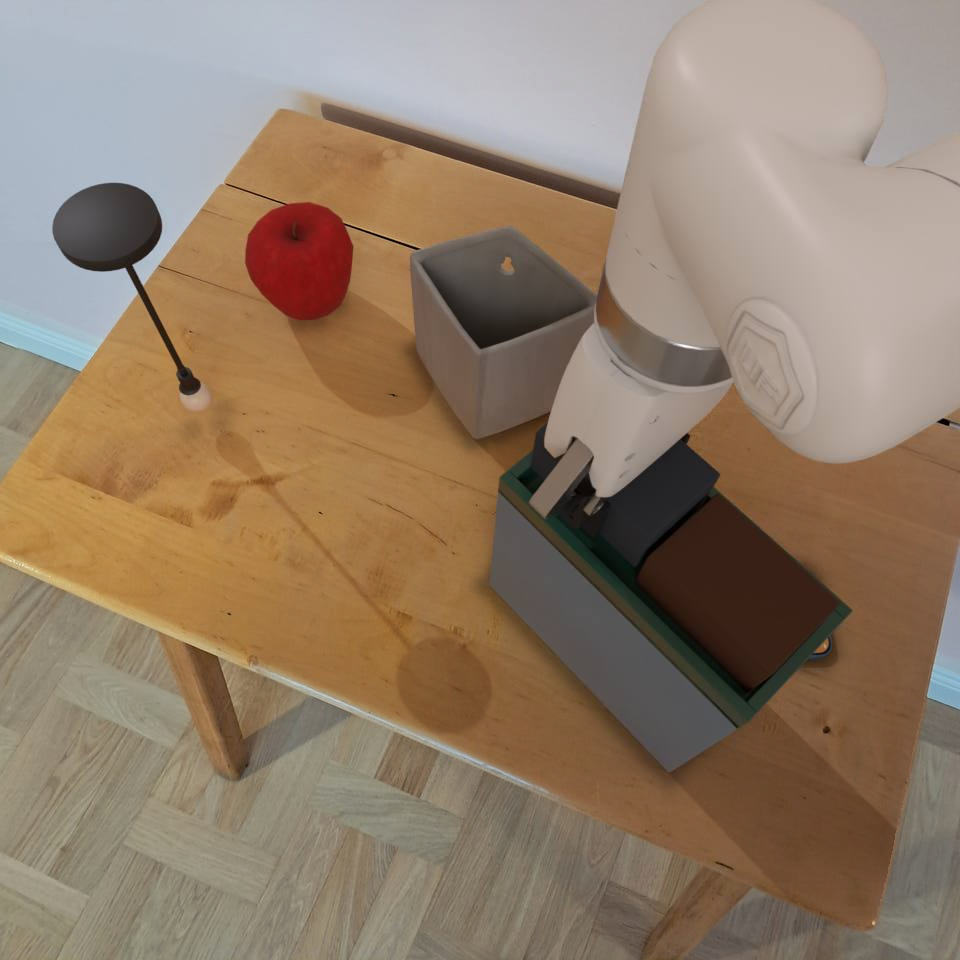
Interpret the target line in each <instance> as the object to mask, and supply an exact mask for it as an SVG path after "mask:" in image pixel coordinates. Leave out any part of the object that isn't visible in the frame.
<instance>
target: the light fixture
mask: <svg viewBox="0 0 960 960" xmlns="http://www.w3.org/2000/svg"><path fill="white" fill-rule="evenodd" d="M51 229H52V230H51V231H52V236H53V239H54V241H55V243H56V245H57V247H58V249H59V250H60V252H61V253H62V255H63V256H64V257H65V259H66V260H67V261H69V262H70V263H71V264H72V265H75V266H76V267H79V268H81V269H83V270H86V271H91V272H100V273H103V272H114V271H119V270H123V269H125V271H126V273H127V274H128V276H129V278H130V280H131V282H132V284H133V287H134V288H135V289H136V290H135V291H137V293H138V295H139V297H140V299H141V301H142V303H143V305H144V306H145V309H146V311H147V312H148V314H149V317H150V318H151V320H152V322H153V324H154V326H155V328H156V330H157V333H158V334H159V335H160V337H161V340H162V341H163V343H164V345H165V347H166V349H167V351H168V353H169V355H170V357H171V358H172V360H173V362H174V364H175V366H176V373H175V376H176V378H177V380H178V381H179V384H178V391H179V395H178V396H179V397H178V398H179V400H180V403H181V406H182V407H184V408H185V409H186V410H187V411H189V412H192V413H199V412H203V411H205V410H206V409H208V408H209V406H210V405H211V403H212V401H213V400H212V399H213V394H212V390H211V389H210V387H209V386H208V385H207V384H206V383H203V382H202V381H201V380H200V379H198V378H197V377H195V376H194V374H193V371H192V369H191V368H189V367H187V366H185V365H184V364H183V362H182V360H181V358H180V356H179V354H178V352H177V350H176V348H175V346H174V344H173V342H172V340H171V338H170V336H169V333H168V332H167V330H166V328H165V326H164V325H163V323H162V321H161V318H160V316H159V315H158V313H157V311H156V309H155V306H154V304H153V303H152V301H151V299H150V296H149V294H148V293H147V291H146V289H145V287H144V285H143V283H142V281H141V279H140V277H139V276H138V275H139V274H138V273H137V271H136V269H135V267H134V266H133V265H135V264H137V263H139V262H140V261H142V260H143V259H145V258H146V257H147V256H148V255H150V254H151V252H152V251H154V249H155V247H156V246H157V245H158V243H159V242H160V240H161V237H162V233H163V219H162V216H161V214H160V211H159V209H158V206H157V204H156V203H155V201H154V199H153V198H152V197H151V195H150V194H149V193H148V192H146V191H144V189H142V188H140V187H138V186H135V185H132V184H129V183H123V182H104V183H98V184H94V185H91V186H88V187H86V188H83V189H81V190H79V191H77V192H76V193H74V194H72V195H71V196H69V197H68V198H67V200H65V201H64V202H63V203H62V204H61V205H60V207H59V208H58V210H57V211H56V213H55V215H54V217H53V221H52V227H51Z"/></svg>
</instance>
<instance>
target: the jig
mask: <svg viewBox="0 0 960 960" xmlns="http://www.w3.org/2000/svg"><path fill="white" fill-rule="evenodd" d="M532 453H533V449H532V450H530V451H529V452H527V454H526V455H524V456H523V457H522V458H520V460H518V461H517V462H516V463H515V464H514V465H512V466H511V467H510V468H509V469H508V470H506V471H505V472H504V473H503V474H501V475H500V476H499V477H498V487H497V493H498V492H499V493H500V494H501V495H502V496H503V497H504V498H505V499H506V500H507V501H508V502H509V503H510V504H511V505H512V506H513V507H514V508H515V509H516V510H517V511H518V512H519V513H520V514H521V515H522V516H523V517H524V518H525V519H526V520H527V521H528V522H529V523H530V524H531V525H532V526H533V527H534V528H535V529H536V530H537V531H538V532H539V533H540V534H541V535H542V536H543V537H544V538H545V539H546V540H547V541H548V542H549V543H550V544H551V545H552V546H553V547H554V548H555V549H556V550H557V551H558V552H559V553H560V554H561V555H562V556H563V557H564V558H565V559H566V560H567V561H568V562H569V563H570V564H571V565H572V566H573V567H574V568H575V569H576V570H577V571H578V572H579V573H580V574H581V575H583V576H584V577H585V578H586V579H587V580H588V581H589V582H590V583H591V584H592V585H593V586H594V587H595V588H596V589H597V590H598V591H599V592H600V593H601V594H602V595H603V596H604V597H605V598H606V599H607V600H608V601H609V602H610V603H611V604H612V605H613V606H614V607H615V608H616V609H617V610H618V611H619V612H620V613H621V614H622V615H623V616H624V617H625V618H626V619H627V620H628V621H629V622H630V623H631V624H632V625H633V626H634V627H635V628H636V629H637V630H638V631H639V632H640V633H641V634H642V635H643V636H644V637H645V638H646V639H647V640H648V641H649V642H650V643H651V644H652V645H653V646H654V647H655V648H656V649H657V650H658V651H659V652H660V653H661V654H662V655H663V656H664V657H665V658H666V659H667V660H668V661H669V662H670V663H671V664H672V665H673V666H674V667H675V668H676V669H677V670H678V671H679V672H680V673H681V674H682V675H683V676H684V677H685V678H686V679H687V680H688V681H689V682H690V683H691V684H692V685H693V686H694V687H695V688H696V689H697V690H698V691H699V692H700V693H701V694H702V695H703V696H704V697H705V698H706V699H707V700H708V701H709V702H711V703H712V704H713V705H714V706H715V707H716V708H717V709H718V710H719V711H720V712H721V713H722V714H723V715H724V716H725V717H726V718H727V719H728V720H729V721H730V722H731V723H732V724H733V725H734V726H735V727H736V728H737V730H739V729H740V728H742V727H743V726H744V725H747V724H748V723H749V722H751V720H753V718H754V717H755V716H756V715H757V714H758V713H759V712H760V711H761V710H762V708H763V707H765V705H767V703H769V701H770V700H771V699H772V698H773V697H774V696H775V695H776V694H777V693H778V692H779V690H780V689H781V688H782V687H783V686H784V685H785V684H787V682H788V681H789V680H790V679H791V678H792V677H793V676H794V675H795V674H796V673H797V672H798V670H799V669H801V667H802V666H803V665H805V663H806V662H807V661H808V660H809V659H808V658H809V657H810V656H811V655H812V654H813V653H814V652H815V651H816V650H817V649H818V648H819V647H820V646H821V645H822V644H823V642H824V641H825V640H826V639H827V638H828V637H829V636H831V635H833V633H834V632H835V631H836V630H837V629H838V628H839V627H840V626H841V625H842V624H843V622H844V621H845V620H846V619H847V618H848V617H849V616H850V615H851V614H852V613H853V609H852V608H851V607H850V606H849V605H848V604H847V603H845V602H844V601H843V600H842V599H841V598H840V597H838V596H837V594H835V593H834V592H833V591H832V590H831V589H830V588H829V587H827V586H826V585H825V584H824V583H823V582H822V581H821V580H819V579H818V578H817V576H816V575H814V573H812V572H811V571H809V569H807V568H806V567H805V566H804V565H803V564H801V563H800V562H799V561H798V560H797V559H796V558H795V557H793V556H792V554H790V553H789V552H788V551H787V550H786V549H784V547H782V546H781V545H780V544H779V543H778V542H777V541H776V540H774V538H773V537H772V536H770V535H769V534H768V533H767V532H765V530H764V529H762V528H761V527H760V526H758V524H757V523H756V522H754V521H753V520H752V519H751V518H750V517H749V516H747V515H746V514H745V513H744V512H743V511H742V510H741V509H739V508H738V506H736V505H735V504H734V503H733V502H732V501H730V500H729V499H728V498H727V497H726V496H725V495H724V494H723V493H722V492H721V491H719V490H718V489H717V488H716V487H715V486H714V487H713V488H712V490H711V491H710V493H709V495H708V496H707V498H706V500H705V501H704V503H703V504H702V506H701V507H703V506H704V505H705V504H706V503H707V502H708V501H709V500H710V499H711V498H712V497H714V496H715V495H716V494H717V493H719V494H720V495H721V496H722V497H723V498H724V499H725V500H727V501H728V502H729V503H730V504H731V505H732V506H733V507H734V508H736V509H737V510H738V511H739V512H740V513H741V514H742V515H743V516H744V517H746V518H747V519H748V520H749V521H750V522H751V523H752V524H753V525H754V526H756V527H757V528H758V529H759V530H760V531H761V532H762V533H763V534H765V535H766V536H767V537H768V538H769V539H770V540H771V541H772V542H773V543H775V544H776V545H777V546H778V547H779V548H780V549H781V550H782V551H783V552H785V553H786V554H787V555H788V556H789V557H790V558H791V559H792V560H793V561H795V562H796V563H797V564H798V565H799V566H800V567H801V568H802V569H804V570H805V571H806V572H807V573H808V574H809V575H810V576H811V577H812V578H814V579H815V580H816V581H817V582H818V583H819V584H820V585H821V586H822V587H824V588H825V589H826V590H827V591H828V592H829V593H830V594H831V595H833V596H834V597H835V598H836V599H837V600H838V601H839V602H840V605H839V606H838V607H837V608H836V609H835V610H834V611H833V612H832V613H831V614H830V615H829V616H828V617H827V618H826V619H825V620H824V621H823V622H822V623H821V624H820V626H819V627H818V628H817V629H816V630H815V631H814V632H813V633H812V634H811V635H810V636H809V637H808V638H807V639H806V640H805V641H804V642H803V643H802V644H801V645H800V646H799V647H798V648H797V649H796V650H795V652H794V653H793V654H792V655H791V656H790V657H789V658H788V659H787V660H786V661H785V662H784V663H783V664H782V665H781V666H780V667H779V668H778V669H777V670H776V671H775V672H774V673H773V674H772V675H771V676H770V677H768V678H767V679H766V680H764V681H763V682H761V683H760V684H759V685H757V686H756V687H755V688H753V689H752V690H751V691H749V692H748V693H747V692H745V691H744V690H743V689H742V688H741V687H740V686H739V685H738V684H737V683H736V682H735V681H734V680H733V679H732V678H731V677H730V676H729V675H728V674H727V673H726V672H725V671H724V670H723V669H722V668H721V667H720V666H719V665H718V664H717V663H716V662H715V661H714V660H713V659H712V658H711V657H710V656H709V655H708V654H707V653H706V652H705V651H704V650H703V649H701V648H700V647H699V646H698V645H697V644H696V643H695V642H694V641H693V640H692V639H691V638H690V637H689V636H688V635H687V634H686V633H685V632H684V631H683V630H682V629H681V628H680V627H679V626H678V625H677V624H676V623H675V622H674V621H673V620H672V619H671V618H670V617H669V616H668V615H667V614H666V613H665V612H664V611H663V610H662V609H661V608H660V607H659V606H658V605H657V604H656V603H654V602H653V601H652V600H651V599H650V598H649V597H648V596H647V595H646V594H645V593H644V592H643V591H642V590H641V589H640V588H639V587H638V586H637V585H636V584H635V580H636V578H637V576H638V574H639V573H640V571H641V569H642V567H643V565H644V563H645V562H646V560H647V558H648V556H649V555H650V554H651V553H650V554H649V555H648V556H647V557H646V558H645V559H644V560H643V561H642V562H641V563H640V564H638V565H637V566H636V567H634V566H633V565H631V564H630V563H629V562H628V561H627V560H626V559H625V558H624V557H623V556H622V555H621V554H620V553H619V552H618V551H617V550H616V549H615V548H614V547H613V546H612V545H611V544H610V543H609V542H608V541H607V540H606V539H605V538H603V537H602V536H601V535H600V534H599V533H598V534H597V535H596V536H595V537H592V536H590V535H589V534H588V533H587V532H586V531H585V530H584V529H583V528H582V527H580V528H579V529H576V528H574V527H572V526H571V525H570V524H569V523H568V522H567V521H566V520H565V519H564V518H563V516H562V515H561V513H560V514H559V515H557V516H554V517H551V518H548V519H544V518H543V517H542V516H541V515H540V514H539V513H538V512H537V511H536V510H535V509H534V508H533V507H532V506H531V505H530V504H529V501H530V499H531V498H532V496H533V495H534V494H535V492H536V491H537V490H538V489H539V487H540V486H541V485H542V483H543V482H544V480H543V479H542V478H541V477H540V476H539V475H538V474H537V473H536V472H535V471H534V470H533V469H532V468H531V467H530V465H531V459H532ZM699 509H700V508H699ZM699 509H698V510H699ZM698 510H697V511H698ZM697 511H696V512H697ZM696 512H695V513H696ZM695 513H694V514H695ZM694 514H693V515H694ZM693 515H692V516H693ZM692 516H691V517H692ZM687 520H688V519H687ZM687 520H686V521H687ZM686 521H685V522H686ZM685 522H684V523H685ZM684 523H683V524H684ZM683 524H682V525H683ZM682 525H681V526H682ZM681 526H680V527H681ZM675 531H676V530H675ZM675 531H674V532H675ZM674 532H673V533H674ZM673 533H672V534H673ZM672 534H671V535H672ZM671 535H670V536H671ZM670 536H669V537H670ZM662 543H663V542H662ZM662 543H661V544H662ZM661 544H660V545H661ZM660 545H659V546H660ZM659 546H658V547H659ZM810 572H811V573H812V574H811V573H810Z"/></svg>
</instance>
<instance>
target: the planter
mask: <svg viewBox="0 0 960 960" xmlns="http://www.w3.org/2000/svg"><path fill="white" fill-rule="evenodd" d="M506 258H509V259H511V262H510V265H511V266H512V268H513V270H506V269H505V268H503V267H502V265H503V264H504V263H505V261H506ZM409 270H410V271H409V272H410V284H411V298H412V311H413V325H414V326H413V327H414V334H415V335H414V337H415V338H414V339H415V349H416V353H417V356H418V357H419V359H420V361H421V362H422V364H423V366H424V367H425V369H426V371H427V372H428V374H429V376H430V377H431V379H432V380H433V383H434V385H435V386H436V387H437V389H438V391H439V392H440V394H441V396H442V397H443V399H445V402H446V403H447V404H448V406H449V407H450V409H451V411H452V412H453V413H454V415H455V416H456V418H457V419H458V420H459V422H460V423H461V424H462V426H463V427H464V428H465V430H466V431H467V432H468V434H469V435H470V436H471V437H472V439H473V440H480V439H483V438H486V437H489V436H493V435H495V434H498V433H499V434H500V433H501V432H505V431H507V430H509V429H512V428H515V427H517V426H520V425H522V424H524V423H528V422H529V421H532V420H534V419H537V418H539V417H541V416H544V415H546V414H548V413H551V410H552V406H553V403H554V400H555V397H556V394H557V391H558V388H559V385H560V382H561V380H562V377H563V375H564V372H565V370H566V367H567V365H568V364H569V361H570V359H571V357H572V355H573V353H574V351H575V349H576V347H577V345H578V344H579V342H580V340H581V338H582V336H583V335H584V333H585V332H586V331H587V330H588V329H589V327H590V326H591V325H592V324H593V323H594V308H595V303H596V299H597V293H595V292H594V291H593V290H592V289H591V288H589V286H587V284H585V283H584V282H583V281H581V279H580V278H578V277H577V276H576V275H575V274H574V273H573V272H571V271H570V270H568V269H567V267H565V266H564V265H562V264H561V263H560V262H559V261H557V260H556V259H555V258H553V257H552V256H551V255H550V254H549V253H547V252H546V251H545V250H543V249H542V248H541V247H540V246H539V245H537V244H536V243H535V242H534V241H533V240H531V239H530V238H529V237H527V236H526V235H525V234H524V233H522V232H521V231H520V230H518V229H517V228H515V227H514V226H512V225H504V226H500V227H496V228H491V229H488V230H484V231H480V232H477V233H473V234H467V235H464V236H460V237H457V238H453V239H450V240H445V241H443V242H440V243H436V244H433V245H431V246H430V245H429V246H427V247H423V248H419V249H416V250H414V251H412V252H411V253H410V255H409Z"/></svg>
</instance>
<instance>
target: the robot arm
mask: <svg viewBox="0 0 960 960" xmlns="http://www.w3.org/2000/svg"><path fill="white" fill-rule="evenodd" d="M888 96H889V83H888V76H887V71H886V67H885V64H884V62H883V59H882V57H881V54H880V52H879V50H878V49H877V47H876V46H875V44H874V43H873V41H872V39H871V38H870V37H869V36H868V35H867V34H866V33H865V32H864V31H863V30H862V29H861V27H859V26H858V24H856V23H855V22H854V21H852V20H851V19H850V18H848V17H847V16H846V15H845V14H843V13H842V12H840V11H839V10H837V9H835V8H833V7H832V6H830V5H829V4H828V5H827V4H826V3H823V2H822V1H819V0H707V1H704V2H703V3H701V4H699V5H698V6H696V7H694V8H693V9H691V10H690V11H689V12H687V13H686V14H685V15H683V16H682V17H681V18H680V19H679V20H678V21H677V22H676V23H675V24H674V25H672V27H671V28H670V30H669V31H668V32H667V33H666V35H665V37H664V38H663V40H662V41H661V43H660V44H659V46H658V48H657V50H656V52H655V54H654V56H653V59H652V62H651V65H650V68H649V72H648V75H647V77H646V82H645V85H644V90H643V94H642V99H641V103H640V108H639V112H638V117H637V121H636V125H635V129H634V133H633V134H634V135H633V138H632V142H631V147H630V151H629V154H628V155H629V156H628V160H627V163H626V164H627V165H626V169H625V172H624V177H623V181H622V186H621V191H620V195H619V198H618V203H617V207H616V211H615V217H614V221H613V225H612V230H611V233H610V238H609V242H608V247H607V251H606V254H605V255H606V256H605V259H604V264H603V268H602V272H601V275H600V276H601V277H600V281H599V285H598V290H597V293H596V295H597V299H596V303H595V308H594V323H593V324H592V325H591V326H590V327H589V329H588V330H587V331H586V332H585V333H584V335H583V336H582V338H581V340H580V342H579V344H578V345H577V347H576V349H575V351H574V353H573V355H572V357H571V359H570V361H569V364H568V365H567V367H566V370H565V372H564V375H563V377H562V380H561V382H560V385H559V388H558V391H557V394H556V397H555V400H554V403H553V406H552V410H551V411H550V412H549V417H548V421H547V423H548V424H547V428H546V432H545V438H544V445H545V448H546V449H547V450H548V452H549V453H550V454H551V455H552V456H553V457H554V458H556V457H558V456H560V455H562V454H564V453H565V455H564V456H563V457H562V459H561V460H560V461H559V463H558V464H557V465H556V466H555V468H554V469H553V470H552V472H551V473H550V474H549V476H548V477H547V478H546V479H545V481H544V482H543V483H542V485H541V486H540V487H539V489H538V490H537V491H536V492H535V494H534V495H533V496H532V498H531V499H530V501H529V504H530V505H531V506H532V507H533V508H534V509H535V510H536V511H537V512H538V513H539V514H540V515H541V516H542V517H543V518H544V519H548V518H551V517H554V516H557V515H559V514H560V513H561V515H562V516H563V518H564V519H565V520H566V521H567V522H568V523H569V524H570V525H571V526H572V527H574V528H576V529H579V528H580V527H582V528H583V529H584V530H585V531H586V532H587V533H588V534H589V535H590V536H592V537H595V536H596V535H597V534H598V533H600V532H601V529H602V527H603V524H604V521H605V519H606V516H607V514H608V511H609V508H610V506H609V504H608V502H607V501H606V500H607V499H608V497H611V496H613V495H614V494H616V493H617V492H619V491H620V490H621V489H622V488H624V487H625V486H626V485H627V484H629V483H630V482H631V481H632V480H633V479H635V478H636V477H637V476H638V475H639V474H640V473H642V472H643V471H644V470H645V469H646V468H647V467H649V466H650V465H651V464H652V463H653V462H654V461H655V460H657V459H658V458H659V457H660V456H661V455H662V454H664V453H665V452H666V451H667V450H668V449H669V448H670V447H672V446H673V445H674V444H675V443H676V442H677V441H678V440H680V439H681V440H682V441H683V442H685V443H686V444H687V445H688V442H689V440H690V438H691V435H690V434H689V433H688V432H690V431H691V430H693V429H694V428H695V427H696V426H697V425H698V424H699V423H700V422H701V421H702V420H703V419H705V418H706V417H707V416H708V415H709V414H710V412H712V411H713V410H714V409H715V407H717V405H718V404H720V402H721V401H722V400H723V398H724V397H725V396H726V395H727V393H728V392H729V390H730V389H731V387H732V385H733V384H734V386H735V387H736V390H737V393H738V394H739V397H740V398H741V400H742V401H743V403H744V404H745V407H746V408H747V410H749V411H750V413H751V415H753V416H754V418H756V419H757V420H758V422H760V423H761V424H762V425H763V426H764V427H766V428H767V429H768V431H769V432H770V433H771V434H772V435H773V437H775V438H776V439H777V440H778V441H779V442H780V443H782V444H783V445H785V446H786V447H787V448H789V449H790V450H791V451H792V452H794V453H796V454H797V455H799V456H802V457H804V458H807V459H810V460H812V461H815V462H818V463H825V464H849V463H850V464H851V463H855V462H860V461H863V460H866V459H869V458H873V457H875V456H877V455H880V454H882V453H883V452H884V453H885V452H887V451H888V450H891V449H893V448H895V447H896V446H899V445H900V444H902V443H904V442H905V441H907V440H909V439H910V438H912V437H914V436H915V435H917V434H919V433H921V432H923V431H924V430H925V429H926V430H927V428H929V427H930V426H933V425H934V424H936V423H937V422H939V421H941V420H942V419H944V418H945V417H948V416H949V415H951V414H953V413H954V412H955V411H957V410H959V409H960V130H958V131H956V132H953V133H951V134H949V135H946V136H945V137H943V138H941V139H939V140H936V141H934V142H933V143H931V144H929V145H926V146H924V147H923V148H920V149H919V150H916V151H914V152H912V153H910V154H908V155H905V156H904V157H901V158H900V159H898V160H896V161H894V162H892V163H890V164H888V165H886V166H884V167H883V166H874V165H873V166H871V165H867V164H866V163H865V161H866V160H867V157H868V156H869V154H870V151H871V149H872V147H873V145H874V143H875V141H876V139H877V136H878V134H879V132H880V131H881V128H882V126H883V124H884V120H885V117H886V112H887V109H888V108H887V107H888V98H889V97H888ZM571 444H572V446H571ZM570 446H571V447H570ZM587 473H589V476H590V480H591V482H590V481H589V480H588V479H587V478H586V477H585V475H586V474H587Z"/></svg>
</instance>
